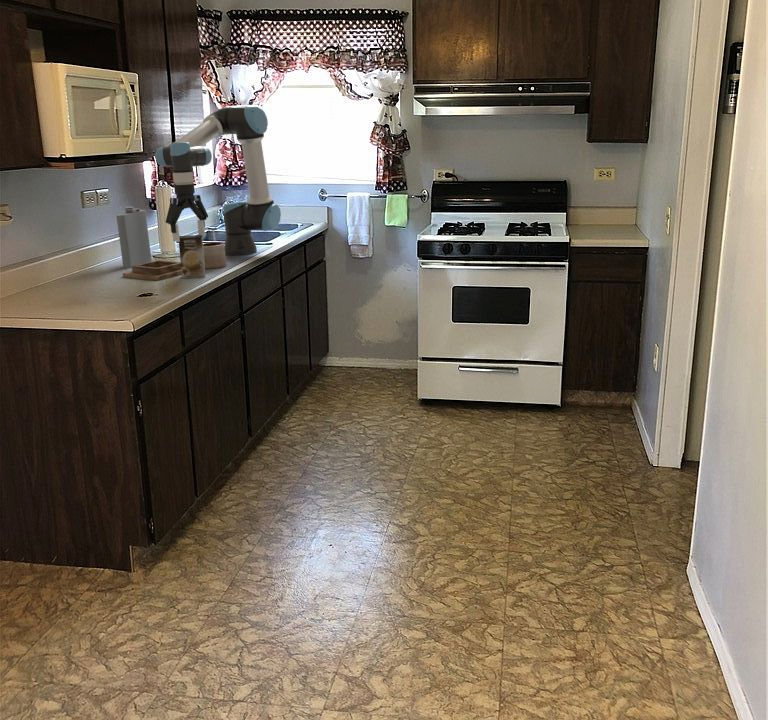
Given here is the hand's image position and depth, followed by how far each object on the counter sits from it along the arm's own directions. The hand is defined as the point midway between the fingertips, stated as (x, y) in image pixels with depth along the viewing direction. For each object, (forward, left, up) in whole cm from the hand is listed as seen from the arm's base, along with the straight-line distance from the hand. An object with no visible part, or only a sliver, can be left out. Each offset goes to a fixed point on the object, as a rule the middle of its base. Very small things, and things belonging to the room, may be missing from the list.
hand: (189, 239), depth 314 cm
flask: (-10, -45, -15) cm, 49 cm away
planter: (-19, -8, -15) cm, 26 cm away
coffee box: (0, 0, -15) cm, 15 cm away
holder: (+2, -18, -15) cm, 24 cm away
